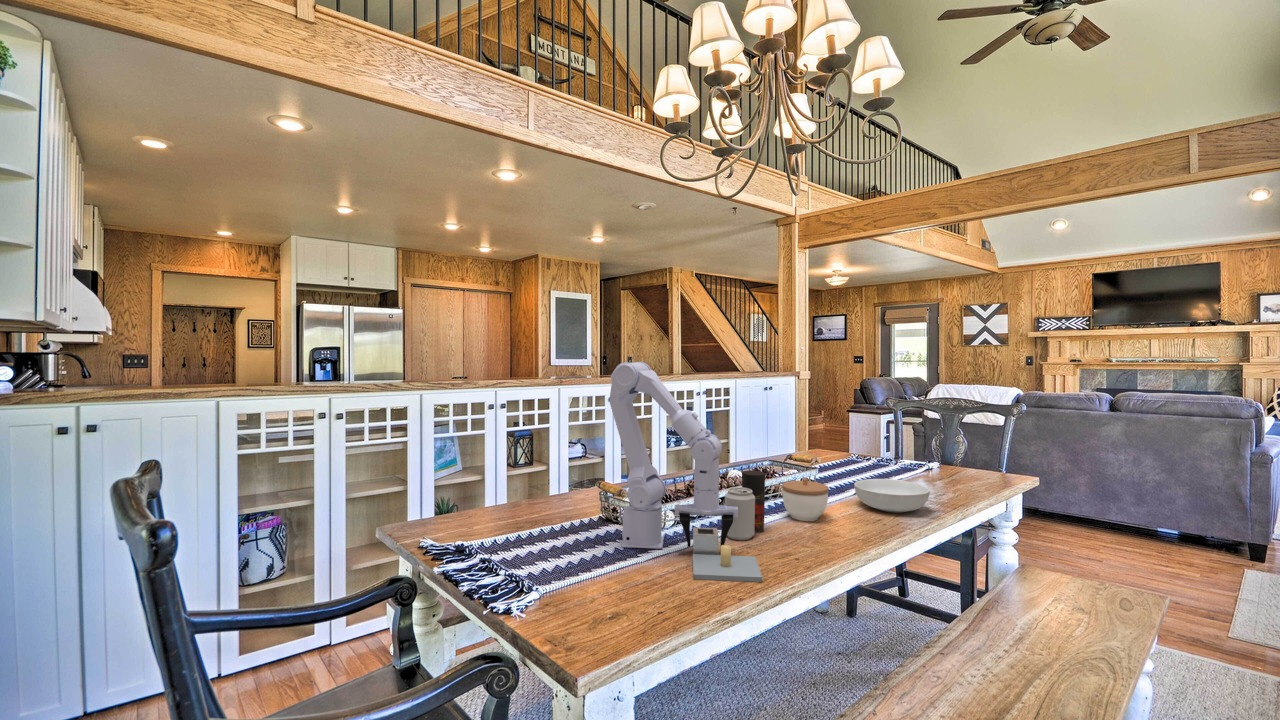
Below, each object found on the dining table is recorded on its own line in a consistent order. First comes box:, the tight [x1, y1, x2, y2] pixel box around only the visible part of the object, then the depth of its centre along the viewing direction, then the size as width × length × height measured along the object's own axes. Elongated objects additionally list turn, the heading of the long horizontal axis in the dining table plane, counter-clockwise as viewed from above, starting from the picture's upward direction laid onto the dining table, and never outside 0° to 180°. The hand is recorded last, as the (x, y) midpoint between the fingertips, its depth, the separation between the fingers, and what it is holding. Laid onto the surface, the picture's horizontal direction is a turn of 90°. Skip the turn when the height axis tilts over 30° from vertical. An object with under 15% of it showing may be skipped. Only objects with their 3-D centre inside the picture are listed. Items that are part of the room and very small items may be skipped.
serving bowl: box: [853, 478, 931, 514], centre depth 179 cm, size 21×21×7 cm
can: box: [724, 486, 755, 541], centre depth 151 cm, size 8×8×12 cm
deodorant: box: [741, 469, 766, 534], centre depth 157 cm, size 6×6×15 cm
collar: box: [692, 526, 720, 555], centre depth 139 cm, size 6×6×5 cm
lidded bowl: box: [781, 477, 830, 522], centre depth 168 cm, size 13×13×11 cm
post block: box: [692, 544, 763, 583], centre depth 128 cm, size 14×12×5 cm
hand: (705, 546), depth 139 cm, fingers open, 7 cm apart
